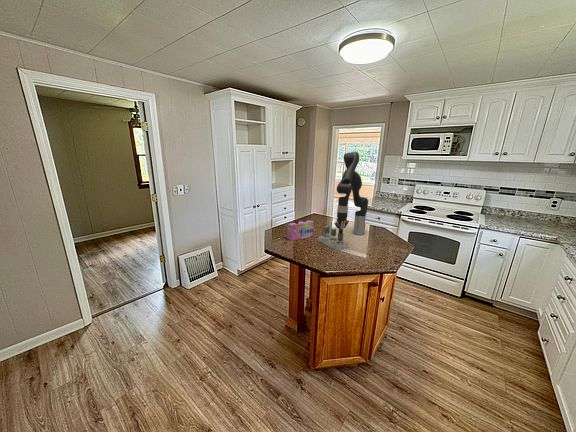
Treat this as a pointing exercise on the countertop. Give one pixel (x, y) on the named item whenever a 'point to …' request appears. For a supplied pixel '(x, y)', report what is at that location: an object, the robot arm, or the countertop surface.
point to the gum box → (300, 229)
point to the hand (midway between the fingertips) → (340, 233)
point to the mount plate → (333, 242)
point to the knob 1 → (327, 229)
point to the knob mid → (333, 232)
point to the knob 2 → (340, 237)
